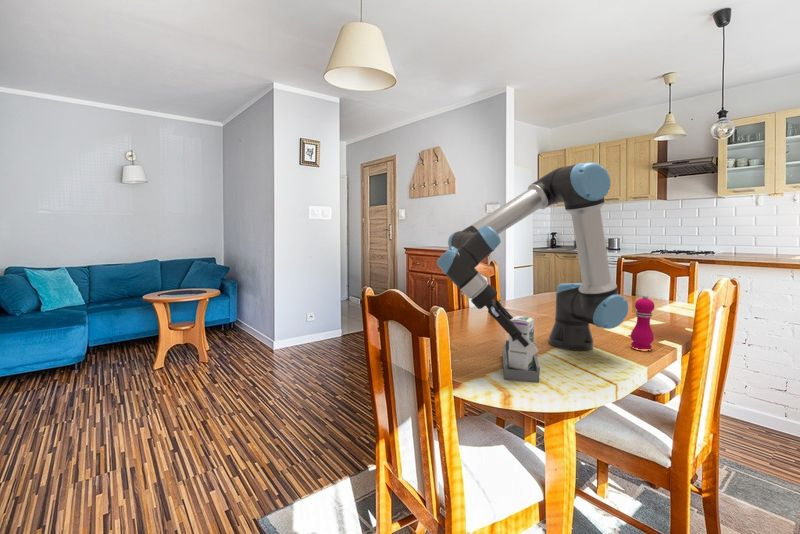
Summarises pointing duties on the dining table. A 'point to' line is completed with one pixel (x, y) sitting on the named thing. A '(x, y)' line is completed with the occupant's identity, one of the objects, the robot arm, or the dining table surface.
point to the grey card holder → (519, 374)
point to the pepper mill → (643, 324)
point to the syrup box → (516, 351)
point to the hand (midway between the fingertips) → (533, 349)
